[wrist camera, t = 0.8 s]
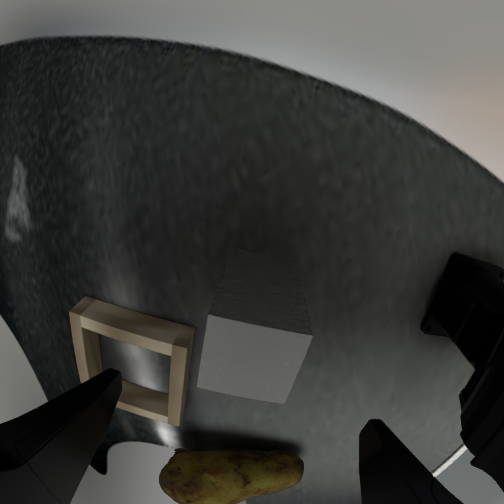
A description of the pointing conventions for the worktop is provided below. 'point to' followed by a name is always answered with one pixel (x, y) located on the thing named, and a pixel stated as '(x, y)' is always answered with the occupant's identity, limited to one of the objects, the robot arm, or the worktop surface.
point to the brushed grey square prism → (256, 328)
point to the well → (142, 335)
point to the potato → (228, 474)
